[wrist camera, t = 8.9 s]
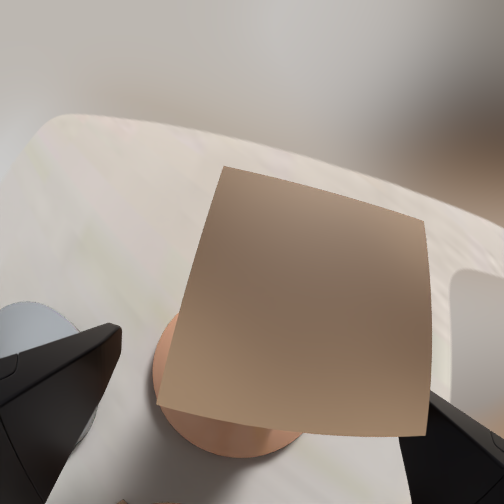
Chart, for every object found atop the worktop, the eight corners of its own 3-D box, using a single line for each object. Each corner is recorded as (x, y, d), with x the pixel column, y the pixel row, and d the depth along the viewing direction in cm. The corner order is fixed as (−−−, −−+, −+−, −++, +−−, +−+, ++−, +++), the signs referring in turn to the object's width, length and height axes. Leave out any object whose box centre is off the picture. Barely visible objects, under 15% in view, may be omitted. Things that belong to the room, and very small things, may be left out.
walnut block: (276, 420, 16) (425, 435, 5) (191, 404, 16) (155, 404, 4) (290, 341, 18) (423, 221, 7) (209, 323, 18) (223, 166, 7)
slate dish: (86, 478, 13) (79, 481, 12) (-30, 417, 13) (-40, 416, 12) (115, 330, 18) (110, 325, 17) (0, 291, 18) (-8, 285, 16)
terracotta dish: (309, 461, 16) (315, 464, 15) (141, 436, 15) (137, 437, 14) (325, 311, 21) (332, 305, 20) (175, 282, 20) (174, 274, 19)
